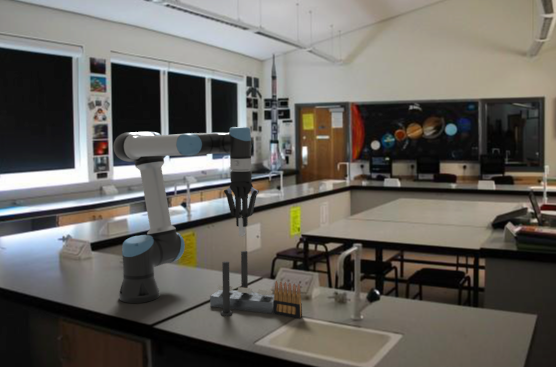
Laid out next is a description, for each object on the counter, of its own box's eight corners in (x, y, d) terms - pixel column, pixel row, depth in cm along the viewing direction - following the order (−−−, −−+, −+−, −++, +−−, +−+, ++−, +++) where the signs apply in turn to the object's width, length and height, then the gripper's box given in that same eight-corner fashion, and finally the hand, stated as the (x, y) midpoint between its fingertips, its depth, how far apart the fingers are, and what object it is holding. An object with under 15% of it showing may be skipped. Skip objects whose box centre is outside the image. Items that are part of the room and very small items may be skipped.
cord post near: (218, 315, 190) (218, 263, 188) (223, 311, 194) (223, 260, 192) (229, 316, 189) (228, 264, 187) (233, 312, 192) (233, 261, 190)
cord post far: (238, 300, 206) (237, 252, 204) (242, 297, 209) (241, 250, 207) (247, 301, 205) (246, 252, 203) (250, 298, 208) (250, 250, 206)
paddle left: (217, 290, 200) (218, 285, 200) (223, 290, 204) (223, 285, 205) (226, 290, 198) (227, 286, 199) (231, 291, 203) (232, 286, 203)
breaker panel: (210, 306, 199) (210, 295, 199) (220, 299, 208) (220, 288, 207) (271, 313, 191) (271, 302, 191) (279, 305, 200) (279, 295, 199)
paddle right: (258, 294, 194) (258, 289, 195) (262, 294, 199) (263, 289, 199) (267, 295, 193) (267, 290, 194) (271, 295, 198) (272, 290, 198)
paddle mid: (237, 292, 197) (238, 287, 197) (242, 292, 202) (243, 287, 202) (246, 293, 196) (247, 288, 196) (251, 293, 200) (252, 288, 201)
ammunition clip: (302, 317, 188) (302, 283, 187) (300, 318, 186) (300, 285, 185) (275, 312, 193) (275, 279, 192) (272, 313, 191) (272, 280, 190)
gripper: (219, 171, 191) (221, 236, 194) (253, 171, 187) (255, 238, 189) (228, 169, 198) (229, 232, 201) (261, 169, 194) (262, 234, 197)
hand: (242, 235), depth 195 cm, fingers closed
